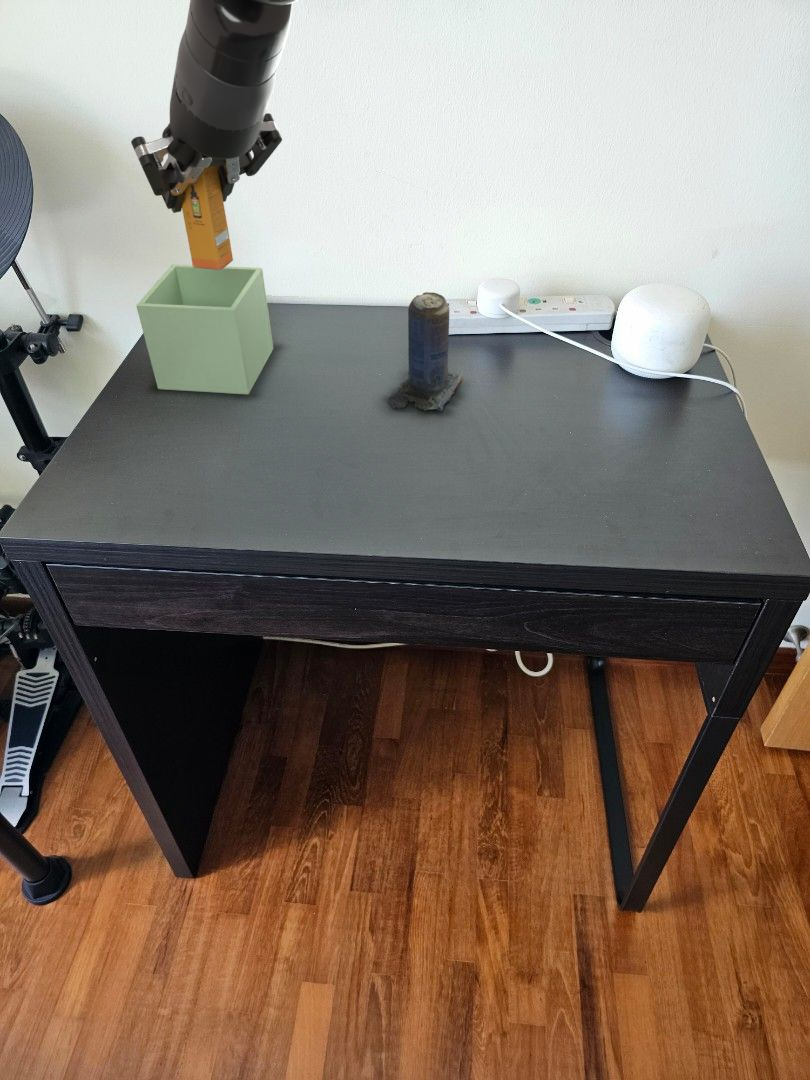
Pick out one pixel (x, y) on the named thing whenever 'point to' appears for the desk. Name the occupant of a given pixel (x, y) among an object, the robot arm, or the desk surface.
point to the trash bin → (207, 328)
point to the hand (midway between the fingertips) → (195, 198)
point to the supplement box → (207, 222)
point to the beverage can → (427, 356)
